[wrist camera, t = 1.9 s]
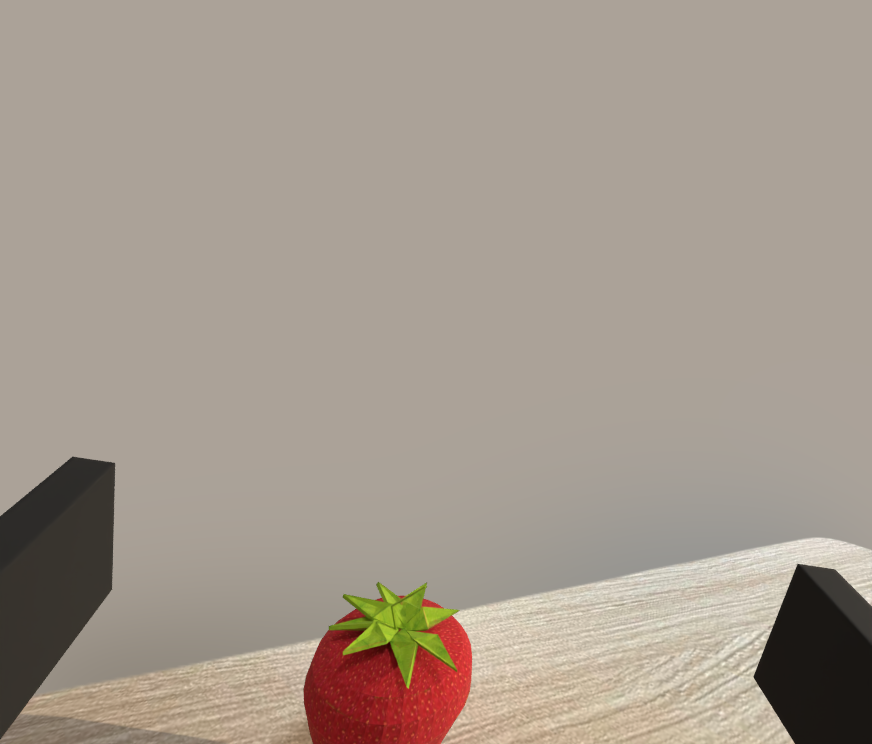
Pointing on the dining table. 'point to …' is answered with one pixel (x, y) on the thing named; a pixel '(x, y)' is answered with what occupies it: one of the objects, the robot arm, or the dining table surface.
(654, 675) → the dining table surface
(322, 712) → the strawberry
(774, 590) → the dining table surface
